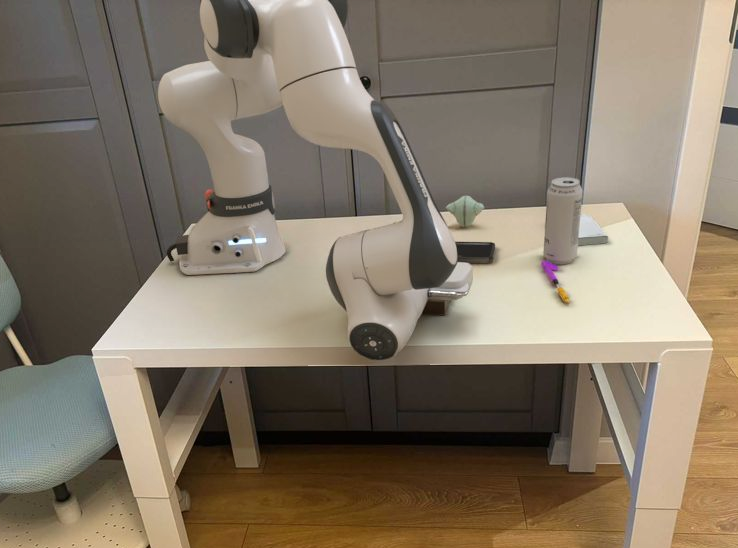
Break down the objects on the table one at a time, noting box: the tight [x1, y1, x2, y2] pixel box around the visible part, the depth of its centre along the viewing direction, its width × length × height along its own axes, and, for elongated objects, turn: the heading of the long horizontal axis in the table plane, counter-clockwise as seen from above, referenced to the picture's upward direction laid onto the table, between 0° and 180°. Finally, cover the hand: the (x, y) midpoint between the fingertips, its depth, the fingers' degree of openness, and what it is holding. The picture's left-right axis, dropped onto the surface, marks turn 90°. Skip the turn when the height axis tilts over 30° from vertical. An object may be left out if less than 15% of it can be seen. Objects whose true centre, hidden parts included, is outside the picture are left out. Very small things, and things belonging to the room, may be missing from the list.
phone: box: [455, 241, 496, 264], centre depth 140 cm, size 8×1×15 cm
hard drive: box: [578, 213, 609, 246], centre depth 144 cm, size 2×8×12 cm
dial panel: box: [422, 299, 452, 316], centre depth 126 cm, size 14×11×3 cm
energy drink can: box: [542, 176, 584, 265], centre depth 130 cm, size 6×6×15 cm
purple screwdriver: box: [540, 259, 570, 304], centre depth 125 cm, size 3×1×16 cm
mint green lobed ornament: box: [445, 195, 485, 228], centre depth 151 cm, size 8×4×7 cm, turn 74°
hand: (419, 257), depth 123 cm, fingers open, 8 cm apart
